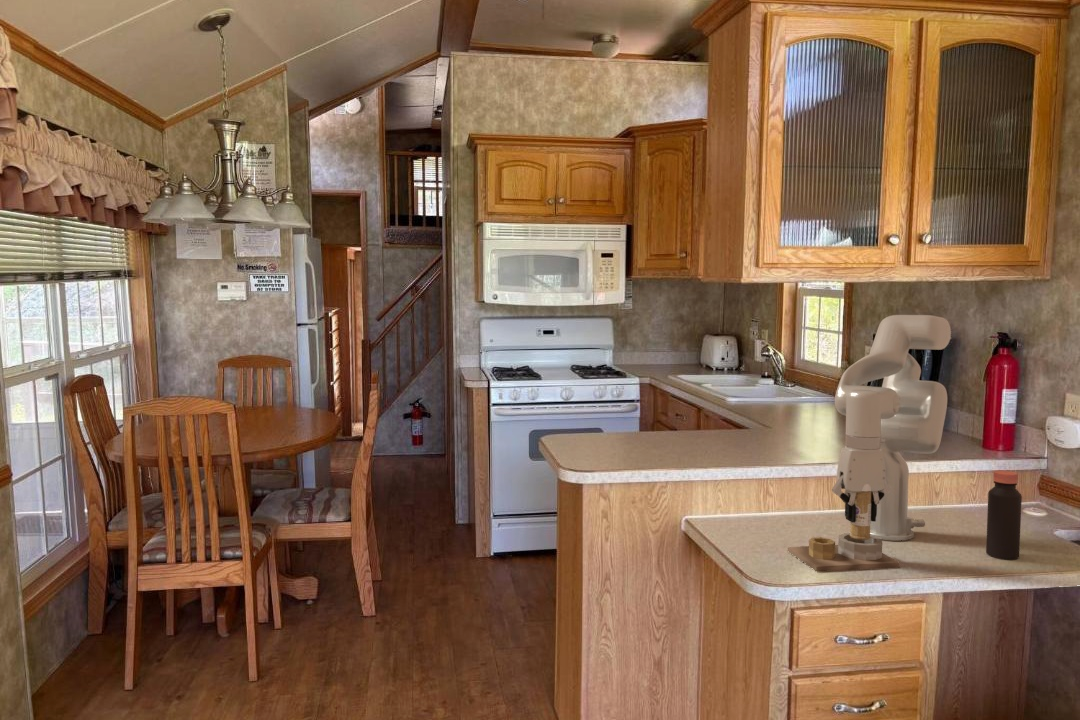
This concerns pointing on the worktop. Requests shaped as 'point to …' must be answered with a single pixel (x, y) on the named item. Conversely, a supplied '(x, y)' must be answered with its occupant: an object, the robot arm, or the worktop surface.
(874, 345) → the robot arm
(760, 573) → the worktop surface
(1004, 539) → the brown bottle
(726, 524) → the worktop surface
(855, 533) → the sprinkles bottle
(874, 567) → the fitting board
